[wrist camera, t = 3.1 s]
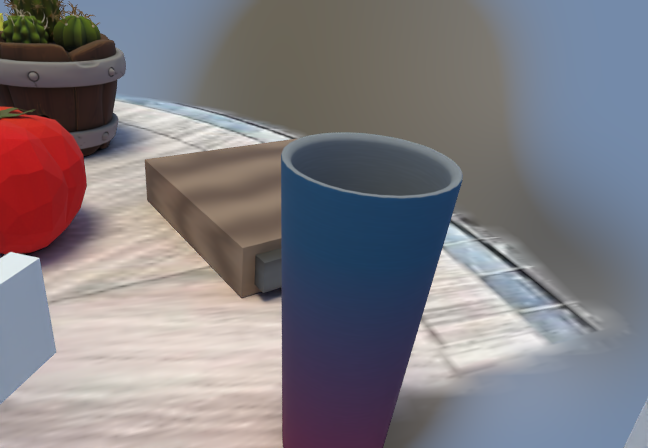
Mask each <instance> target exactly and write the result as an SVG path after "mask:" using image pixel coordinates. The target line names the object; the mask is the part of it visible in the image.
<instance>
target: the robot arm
mask: <svg viewBox="0 0 648 448" xmlns="http://www.w3.org/2000/svg"><path fill="white" fill-rule="evenodd" d="M55 353H56V348H55V342H54V336H53V331H52V325H51V320H50V314H49V308H48V303H47V297H46V291H45V286H44V280H43V274H42V269H41V263H40V258H37V257H32V256H27V255H23V254H18V253H13V252H10V253H8V254H6V255H5V256H3V257H2V258H0V404H1V403H2V402H3V401H4V400H5V399H6V398H8V397H9V396H10V395H11V394H12V393H13V392H14V391H15V390H16V389H17V388H18V387H19V386H20V385H22V384H23V383H24V382H25V381H26V380H27V379H28V378H29V377H30V376H31V375H32V374H33V373H34V372H36V371H37V370H38V369H39V368H40V367H41V366H42V365H43V364H44V363H45V362H46V361H47V360H48V359H49V358H51V357H52V356H53V355H54V354H55ZM624 448H648V398H647V400H646V402H645V404H644V406H643V408H642V411H641V413H640V415H639V417H638V419H637V421H636V423H635V425H634V427H633V429H632V432H631V434H630V436H629V438H628V440H627V442H626V444H625V446H624Z"/></svg>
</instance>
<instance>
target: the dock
mask: <svg viewBox="0 0 648 448" xmlns="http://www.w3.org/2000/svg"><path fill="white" fill-rule="evenodd" d="M294 140H296V139H291V140H284V141H277V142H269V143H262V144H255V145H247V146H240V147H233V148H225V149H218V150H211V151H203V152H196V153H189V154H182V155H174V156H167V157H160V158H152V159H145V171H146V186H147V200H148V201H149V202H150V203H151V204H152V205H153V206H154V207H155V208H156V209H157V211H158V212H159V213H160V214H161V215H162V216H163V217H164V218H165V219H166V220H167V221H168V222H169V223H170V224H171V225H172V226H173V227H174V228H175V229H176V230H177V231H178V232H179V233H180V234H181V235H182V237H183V238H184V239H185V240H186V241H187V242H188V243H189V244H190V245H191V246H192V247H193V248H194V249H195V250H196V251H197V252H198V253H199V254H200V255H201V256H202V257H203V258H204V259H205V260H206V261H207V263H208V264H209V265H210V266H211V267H212V268H213V269H214V270H215V271H216V272H217V273H218V274H219V275H220V276H221V277H222V278H223V279H224V280H225V281H226V282H227V283H228V284H229V285H230V286H231V287H232V289H233V290H234V291H235V292H236V293H237V294H238V295H239V296H240V297H241V298H243V297H246V296H249V295H252V294H255V293H258V292H263V293H265V292H268V291H271V290H274V289H277V288H280V287H282V253H281V153H282V151H283V149H284V147H286V146H287V145H288V144H289V143H290V142H292V141H294Z"/></svg>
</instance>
